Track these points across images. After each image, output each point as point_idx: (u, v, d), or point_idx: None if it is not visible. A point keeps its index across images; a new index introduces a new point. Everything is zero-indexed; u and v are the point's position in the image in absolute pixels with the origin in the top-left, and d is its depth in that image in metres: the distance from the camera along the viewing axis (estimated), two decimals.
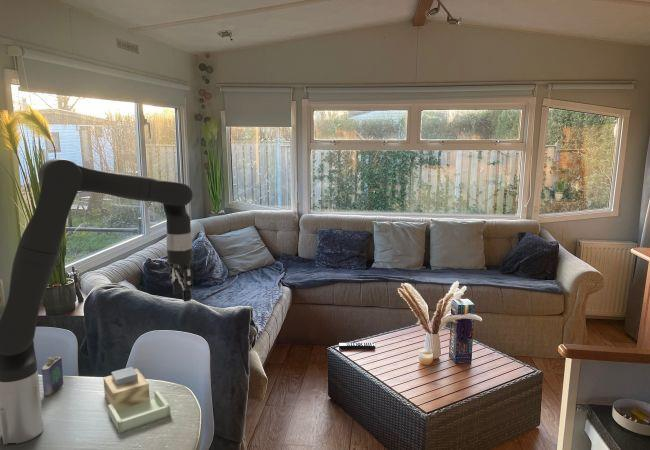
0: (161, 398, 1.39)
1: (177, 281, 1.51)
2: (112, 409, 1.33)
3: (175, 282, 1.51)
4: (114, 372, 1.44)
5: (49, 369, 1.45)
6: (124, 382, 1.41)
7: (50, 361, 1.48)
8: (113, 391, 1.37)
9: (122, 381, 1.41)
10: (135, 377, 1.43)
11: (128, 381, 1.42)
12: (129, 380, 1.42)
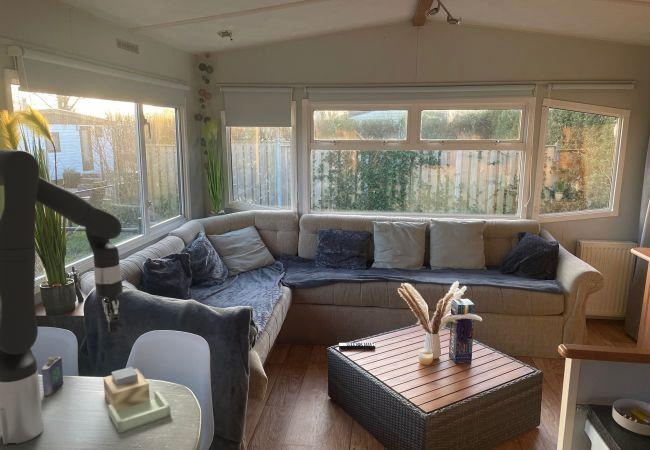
0: (161, 398, 1.39)
1: None
2: (112, 409, 1.33)
3: None
4: (114, 372, 1.44)
5: (49, 369, 1.45)
6: (124, 382, 1.41)
7: (50, 361, 1.48)
8: (113, 391, 1.37)
9: (122, 381, 1.41)
10: (135, 377, 1.43)
11: (128, 381, 1.42)
12: (129, 380, 1.42)
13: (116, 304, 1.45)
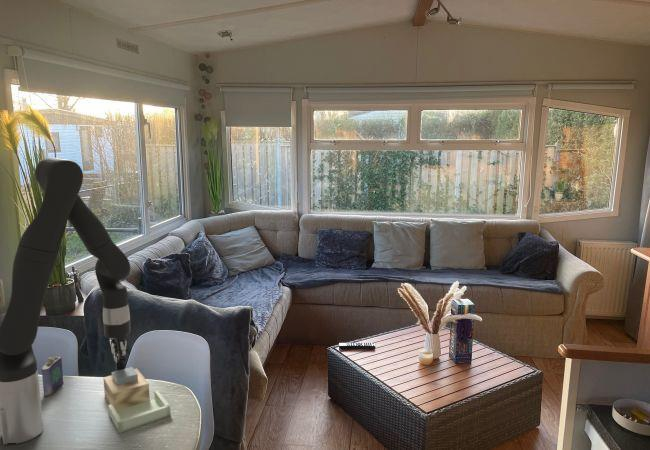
0: (161, 398, 1.39)
1: None
2: (112, 409, 1.33)
3: None
4: (114, 372, 1.44)
5: (49, 369, 1.45)
6: (124, 382, 1.41)
7: (50, 361, 1.48)
8: (113, 391, 1.37)
9: (122, 381, 1.41)
10: (135, 377, 1.43)
11: (128, 381, 1.42)
12: (129, 380, 1.42)
13: (124, 345, 1.43)
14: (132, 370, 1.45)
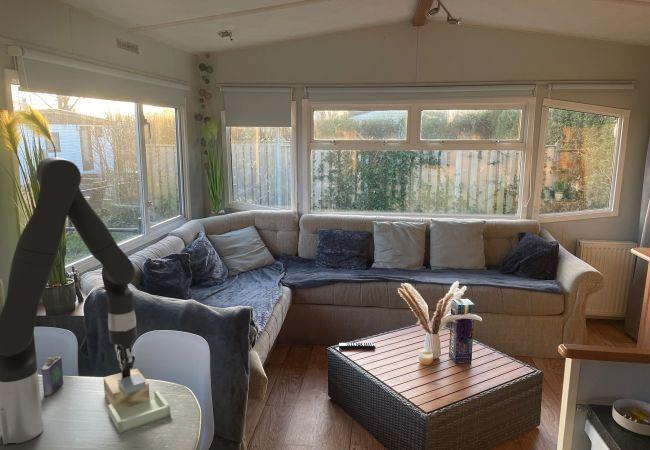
0: (161, 398, 1.39)
1: None
2: (112, 409, 1.33)
3: None
4: (121, 380, 1.39)
5: (49, 369, 1.45)
6: (132, 390, 1.36)
7: (50, 361, 1.48)
8: (113, 391, 1.37)
9: (130, 389, 1.36)
10: (143, 385, 1.38)
11: (136, 389, 1.37)
12: (137, 388, 1.37)
13: (130, 352, 1.38)
14: (139, 377, 1.41)
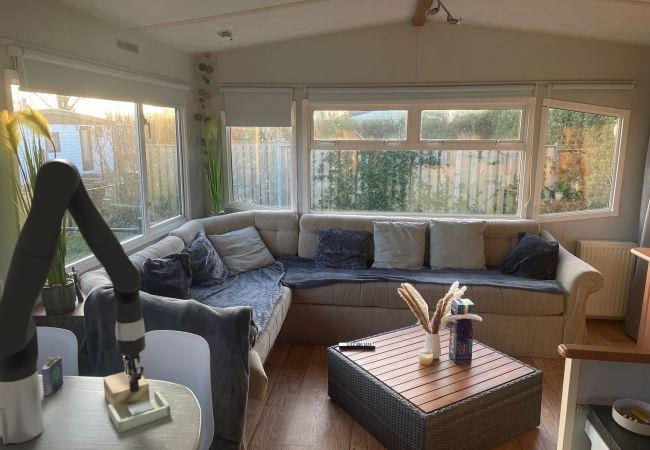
0: (161, 398, 1.39)
1: None
2: (112, 409, 1.33)
3: None
4: None
5: (49, 369, 1.45)
6: None
7: (50, 361, 1.48)
8: (113, 391, 1.37)
9: None
10: None
11: None
12: None
13: (139, 362, 1.32)
14: None
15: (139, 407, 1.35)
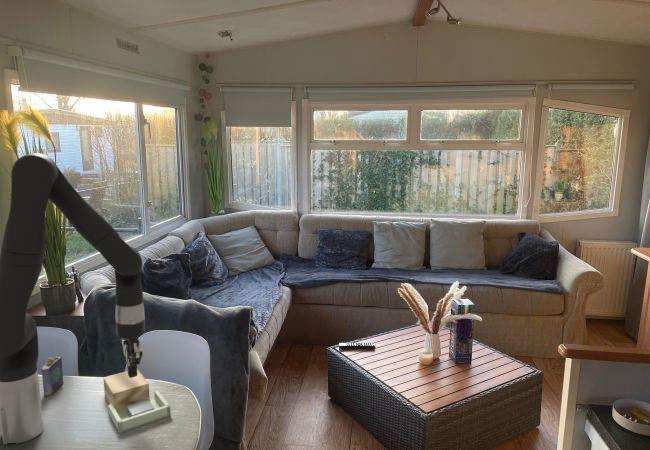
0: (161, 398, 1.39)
1: None
2: (112, 409, 1.33)
3: None
4: None
5: (49, 369, 1.45)
6: None
7: (50, 361, 1.48)
8: (113, 391, 1.37)
9: None
10: None
11: None
12: None
13: (138, 347, 1.31)
14: None
15: (139, 407, 1.35)
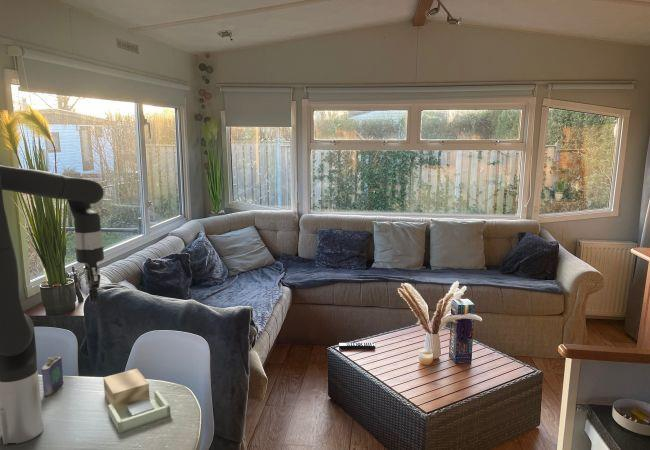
0: (161, 398, 1.39)
1: None
2: (112, 409, 1.33)
3: None
4: None
5: (49, 369, 1.45)
6: None
7: (50, 361, 1.48)
8: (113, 391, 1.37)
9: None
10: None
11: None
12: None
13: (96, 271, 1.42)
14: None
15: (139, 407, 1.35)
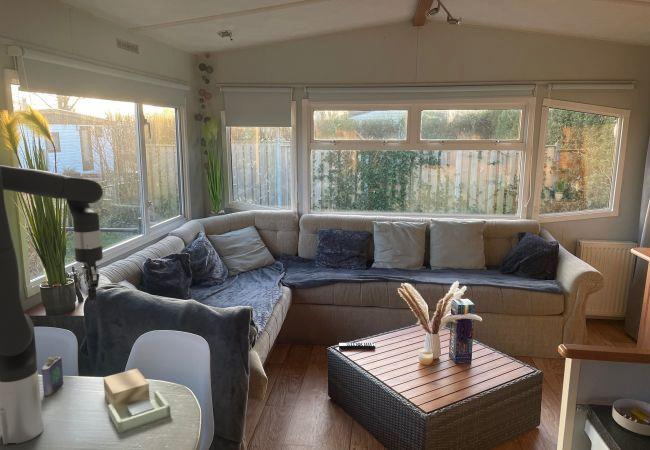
0: (161, 398, 1.39)
1: None
2: (112, 409, 1.33)
3: None
4: None
5: (49, 369, 1.45)
6: None
7: (50, 361, 1.48)
8: (113, 391, 1.37)
9: None
10: None
11: None
12: None
13: (95, 270, 1.42)
14: None
15: (139, 407, 1.35)
